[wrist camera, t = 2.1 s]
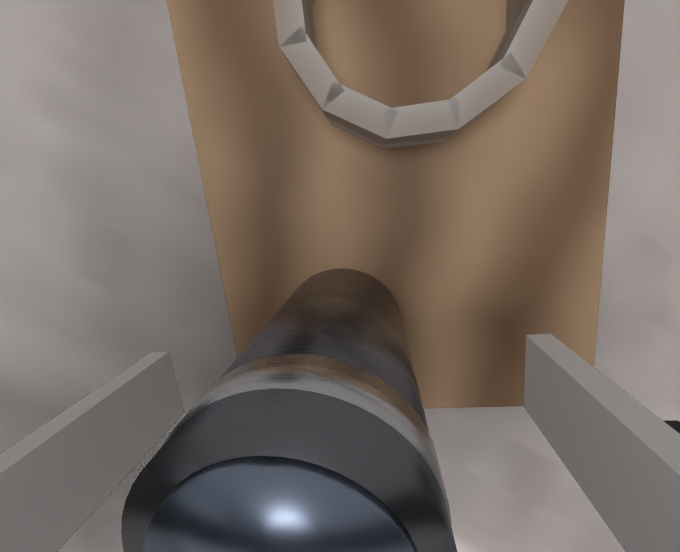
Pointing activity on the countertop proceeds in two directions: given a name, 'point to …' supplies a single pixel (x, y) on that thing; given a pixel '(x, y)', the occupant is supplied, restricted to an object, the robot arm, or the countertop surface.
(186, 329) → the countertop surface
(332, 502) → the lens
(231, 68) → the mount board
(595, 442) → the robot arm
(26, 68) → the countertop surface
